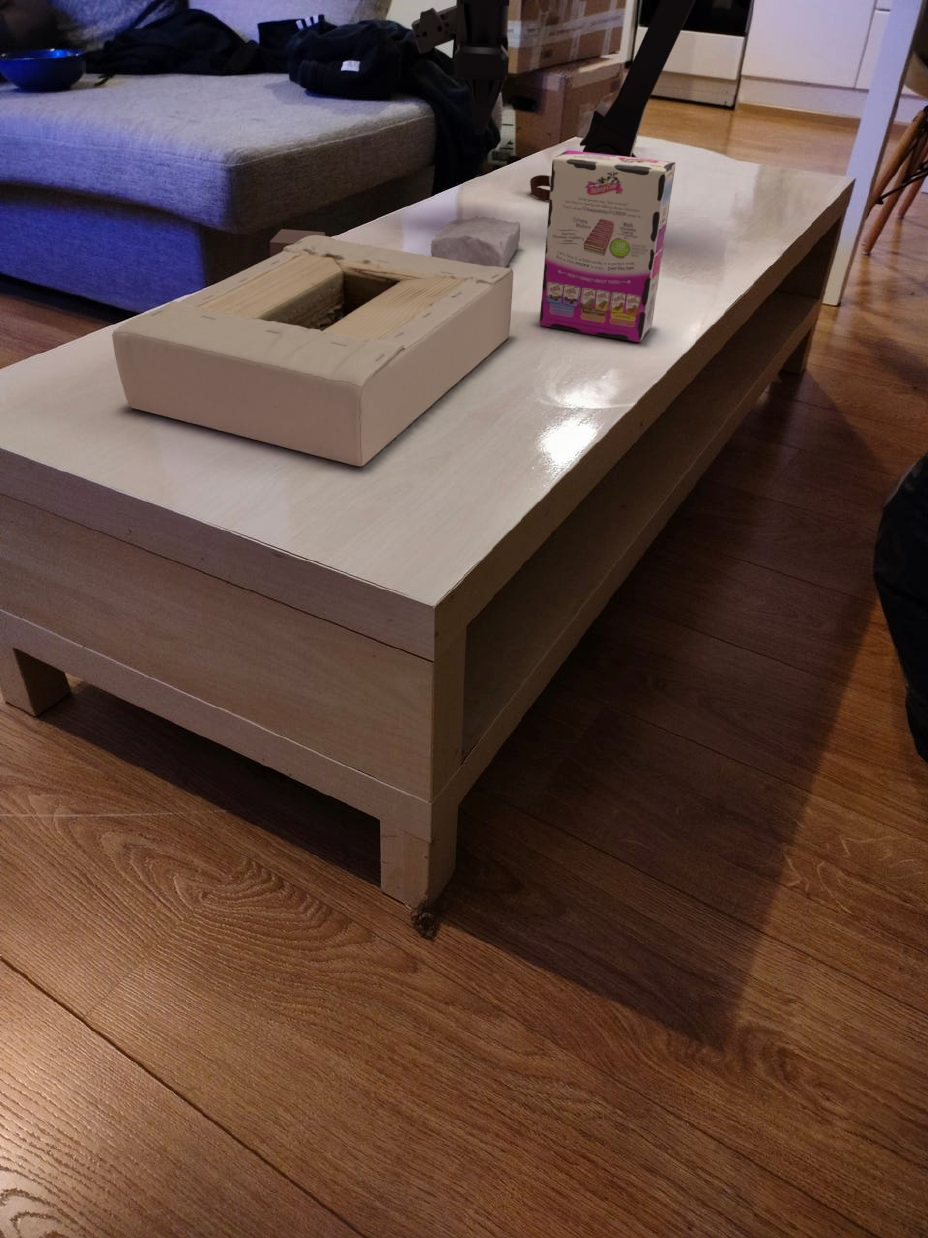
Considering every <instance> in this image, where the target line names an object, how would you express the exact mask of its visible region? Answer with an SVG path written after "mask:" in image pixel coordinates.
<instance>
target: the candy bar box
mask: <svg viewBox="0 0 928 1238" xmlns="http://www.w3.org/2000/svg"><path fill="white" fill-rule="evenodd" d="M636 157H637V156H636ZM636 157H626V156H617V155H608V154H598V153H590V152H583V151H579V150H570V149H567V150H565V151H563V152H561V153H560V154H559V155H557V156H555V157H554V158H552V161H551V162H552V163H551V174H550V176H551V186H550V187H549V190H550V199H549V201H548V213H547V214H548V215H547V227H546V237H545V249H544V250H545V251H544V265H543V274H542V275H543V277H542V289H541V299H540V300H541V301H540V311H539V325H540V326H542V327H546V328H552V329H557V330H563V331H569V332H575V333H581V334H587V335H594V336H598V337H603V338H610V339H616V340H622V341H628V342H633V343H641V342H642V341H644V338H645V337H646V335H647V334H648V333H649V332H650V331H651V329H652V325H653V321H654V314H655V306H656V299H657V293H658V286H659V278H660V271H661V265H662V258H663V251H664V244H665V237H666V231H667V223H668V218H669V212H670V204H671V196H672V190H673V184H674V178H675V170H676V162H675V161H668V160H660V159H651V158H644V157H637V158H636Z"/></svg>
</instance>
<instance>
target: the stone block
mask: <svg viewBox="0 0 928 1238" xmlns="http://www.w3.org/2000/svg"><path fill="white" fill-rule="evenodd" d="M520 239H521V222H520V221H515V222H514V221H507V220H503V219H497V218H495V217H487V216H482V217H481V216H473V217H469V218H460V219H455V220H452V221H448V222H447V223H446V224H445V226H442V227H441V228H440V229H439V230H438V231H437V234H436V235H435V237H434V238H432V240H431V243H430V253H431V257H437V258H442V259H448V260H454V261H459V262H465V263H471V264H477V265H482V266H497V267H503V268H507V266H508V265H509V262H510V261H511V259H512V258H513V257H514V254H515V253H516V251H517V249H518V247H519V245H520Z"/></svg>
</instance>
